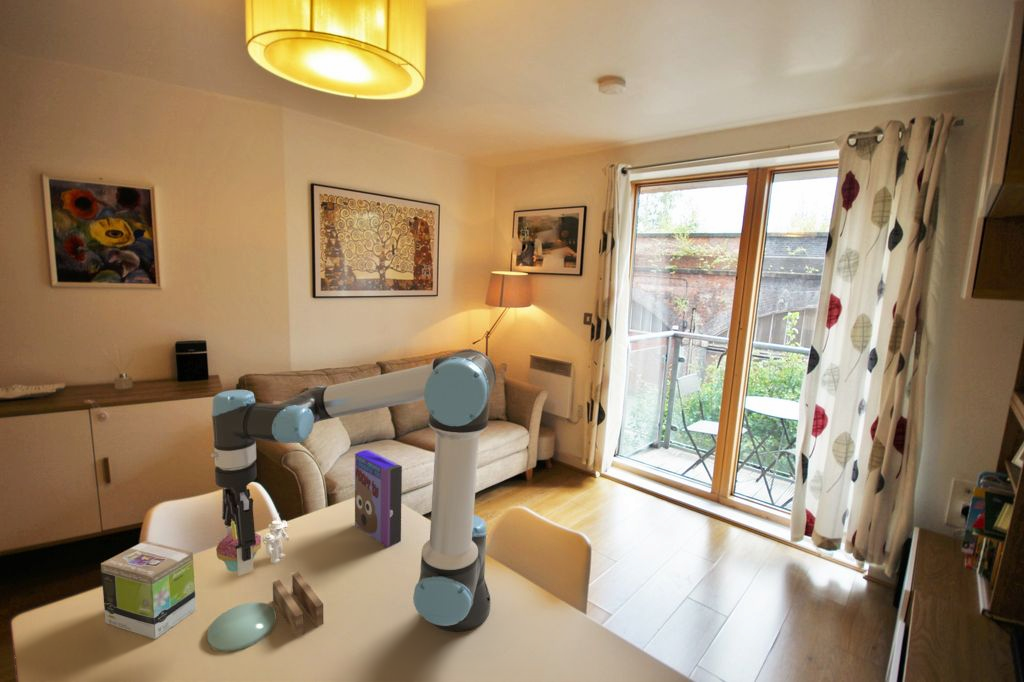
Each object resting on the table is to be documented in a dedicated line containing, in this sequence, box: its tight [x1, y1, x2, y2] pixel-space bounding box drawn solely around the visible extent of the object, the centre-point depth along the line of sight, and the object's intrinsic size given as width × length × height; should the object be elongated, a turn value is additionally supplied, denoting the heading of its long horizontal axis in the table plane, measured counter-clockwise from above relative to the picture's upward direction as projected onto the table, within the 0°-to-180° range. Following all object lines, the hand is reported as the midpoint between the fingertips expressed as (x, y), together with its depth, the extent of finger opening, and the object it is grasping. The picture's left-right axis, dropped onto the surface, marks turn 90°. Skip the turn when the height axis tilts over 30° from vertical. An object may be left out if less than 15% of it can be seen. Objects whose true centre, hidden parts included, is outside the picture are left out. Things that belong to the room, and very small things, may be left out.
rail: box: [272, 579, 304, 638], centre depth 106 cm, size 15×2×5 cm, turn 45°
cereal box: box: [354, 449, 403, 549], centre depth 140 cm, size 17×5×24 cm, turn 50°
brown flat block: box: [291, 571, 324, 628], centre depth 109 cm, size 15×2×5 cm, turn 45°
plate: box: [207, 601, 276, 652], centre depth 102 cm, size 13×13×1 cm
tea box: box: [100, 540, 197, 640], centre depth 103 cm, size 15×10×15 cm, turn 74°
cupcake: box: [216, 519, 262, 573], centre depth 99 cm, size 9×8×12 cm
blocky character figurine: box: [261, 512, 290, 564], centre depth 126 cm, size 9×4×12 cm, turn 173°
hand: (239, 562), depth 100 cm, fingers closed on cupcake, 8 cm apart
